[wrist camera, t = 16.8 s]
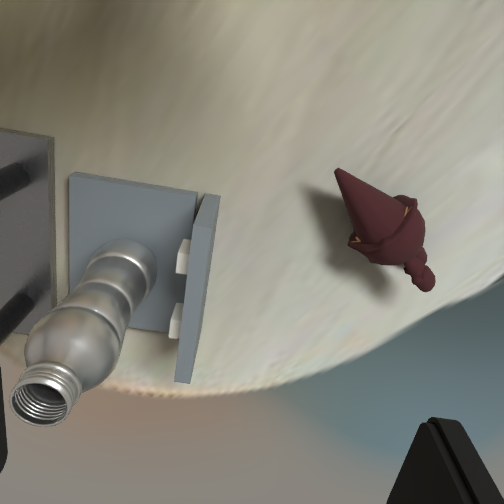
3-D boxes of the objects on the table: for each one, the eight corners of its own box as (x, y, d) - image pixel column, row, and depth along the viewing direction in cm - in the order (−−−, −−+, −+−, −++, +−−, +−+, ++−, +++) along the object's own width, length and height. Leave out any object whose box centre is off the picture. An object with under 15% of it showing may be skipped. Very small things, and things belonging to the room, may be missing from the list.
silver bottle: (175, 266, 45) (117, 412, 26) (127, 300, 46) (41, 459, 28) (132, 219, 42) (37, 341, 24) (83, 256, 44) (-40, 396, 26)
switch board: (75, 171, 42) (30, 199, 34) (220, 195, 43) (211, 228, 35) (74, 311, 49) (37, 362, 40) (201, 329, 49) (190, 383, 41)
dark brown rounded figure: (301, 213, 37) (398, 315, 43) (376, 162, 33) (471, 282, 39) (304, 175, 42) (390, 270, 48) (369, 128, 39) (454, 237, 44)
